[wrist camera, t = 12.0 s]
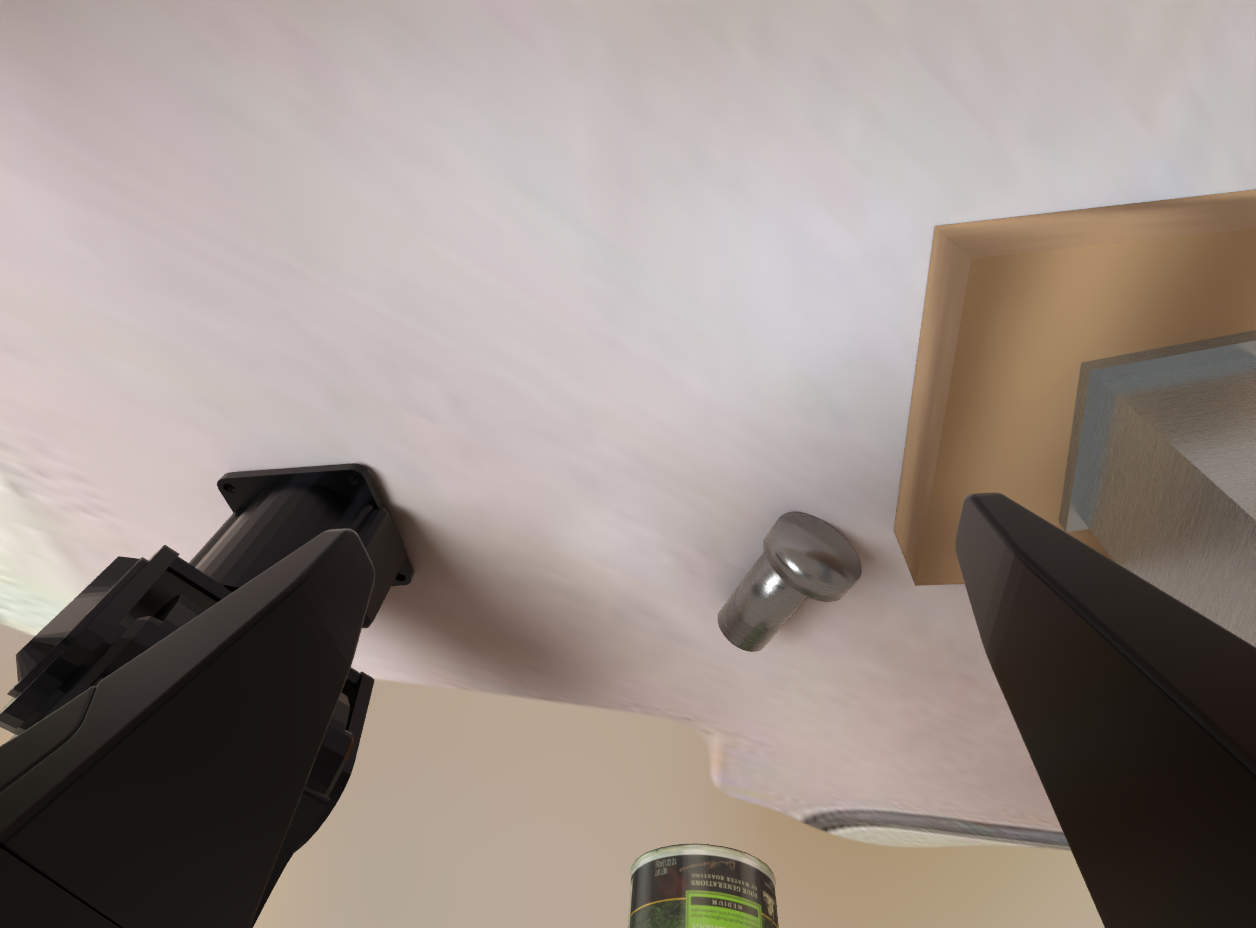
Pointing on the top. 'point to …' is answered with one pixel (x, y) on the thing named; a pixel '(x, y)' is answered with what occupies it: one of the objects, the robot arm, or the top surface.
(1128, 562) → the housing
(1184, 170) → the top surface
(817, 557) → the bolt
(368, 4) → the top surface
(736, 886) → the coffee can
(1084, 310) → the stand
